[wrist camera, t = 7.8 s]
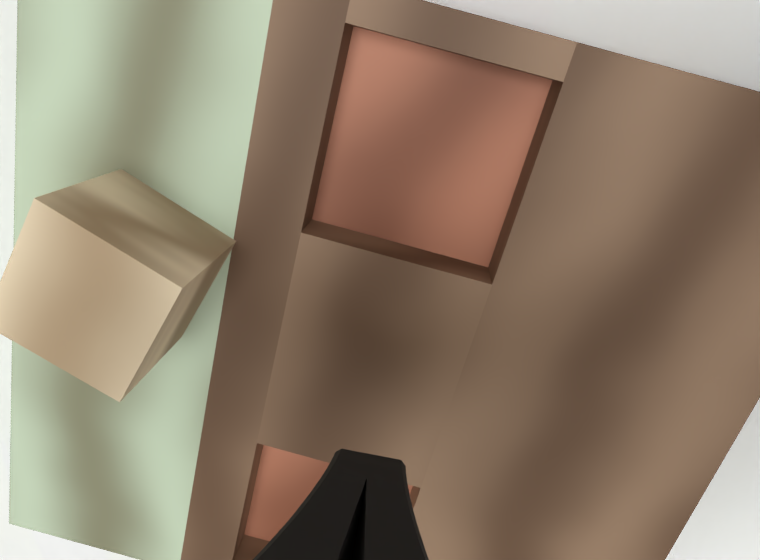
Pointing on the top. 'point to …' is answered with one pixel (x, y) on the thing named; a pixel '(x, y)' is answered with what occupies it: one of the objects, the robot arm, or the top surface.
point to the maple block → (107, 279)
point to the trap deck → (397, 276)
